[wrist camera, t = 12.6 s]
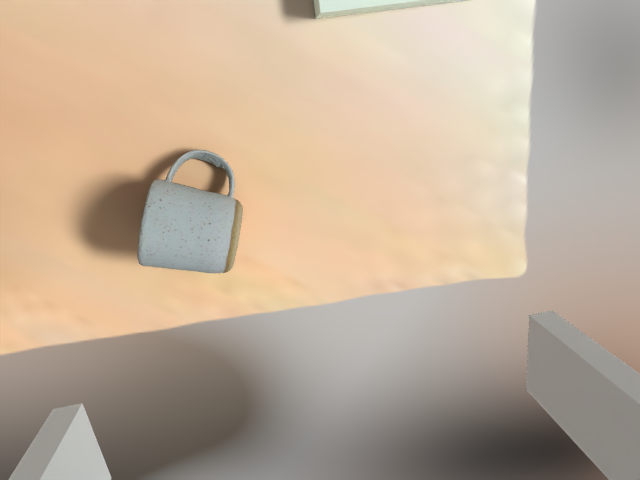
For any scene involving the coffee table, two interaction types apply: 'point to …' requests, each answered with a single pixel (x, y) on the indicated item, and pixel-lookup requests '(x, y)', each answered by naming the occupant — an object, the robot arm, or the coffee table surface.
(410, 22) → the coffee table surface
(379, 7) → the outlet plate
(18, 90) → the coffee table surface
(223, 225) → the ceramic mug
